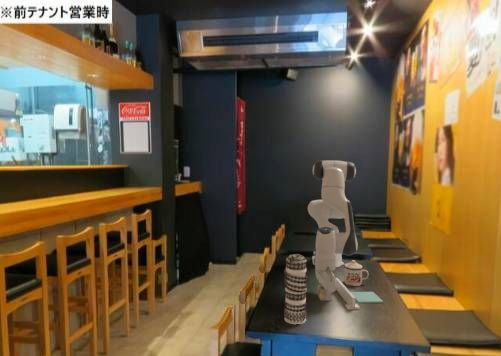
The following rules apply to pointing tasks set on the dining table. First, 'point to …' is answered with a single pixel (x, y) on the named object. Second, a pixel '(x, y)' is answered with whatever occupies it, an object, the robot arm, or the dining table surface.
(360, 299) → the pad
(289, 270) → the decorative candle
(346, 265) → the teacup with lid
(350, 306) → the divider wall
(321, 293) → the maple block
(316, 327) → the dining table surface
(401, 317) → the dining table surface
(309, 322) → the dining table surface
